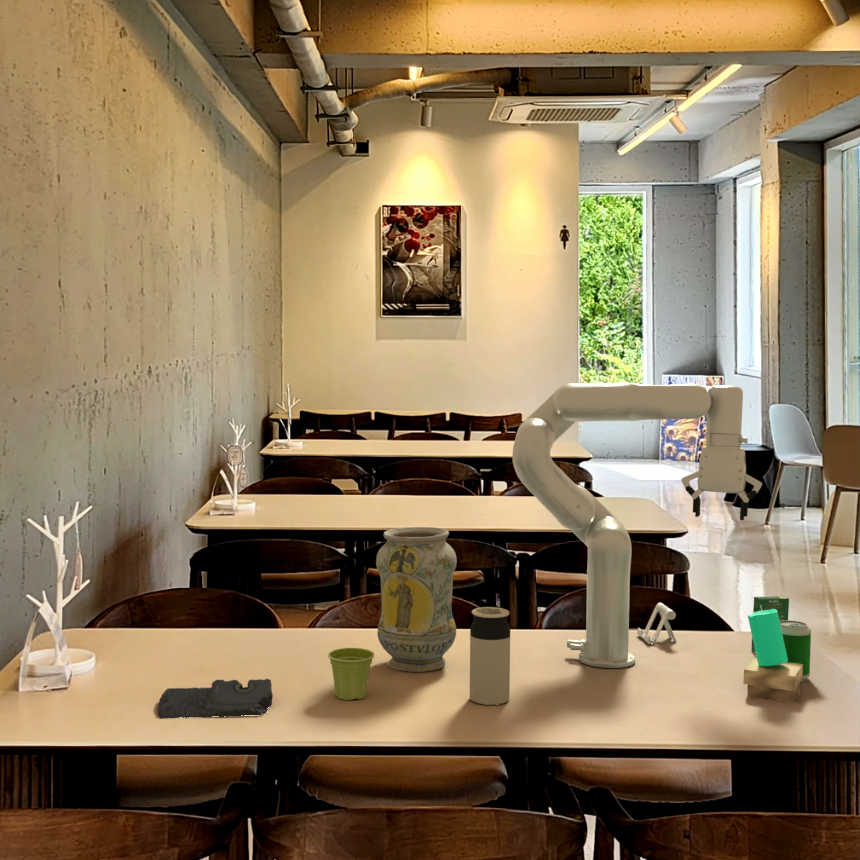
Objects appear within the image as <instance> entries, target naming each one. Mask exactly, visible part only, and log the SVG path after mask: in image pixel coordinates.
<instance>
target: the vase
mask: <svg viewBox="0 0 860 860" xmlns="http://www.w3.org/2000/svg"><path fill="white" fill-rule="evenodd" d="M449 535H450V532H449V530H448V529H445V528H441V527H433V526H432V527H431V526H410V527H408V526H407V527H399V528H398V527H397V528H391V529H387V530H386V531H384V532H383V538H384V539H385V540H386V543H384V544H383V545H382V546H381V547H380V548H379V550H378V551H377V554H376V558H375V564H376V569H377V572H378V573H379V575H380V576H379V577H380V597H381V599H380V600H381V615H380V619H379V621H378V625H377V634H376V635H377V639H378V641H379V644H380V645H381V646H382V647H381V648H382V649H383V650H384V651H385V652H386V653H387V654H388V655H389V656H391V659H390V660H389V661H388V663H387V664H388V667H390V668H391V669H393V670H395V669H397V670H396V671H400V670H401V672H406V671H408V672H407V673H426V672H425V671H428V672H432V671H437V669H438V670H441V669H442V668H444V667H445V665H446V659H444V655H445V654H446V652H447V653H448V651H449V650H450V648H451V647H452V646H453V644H454V642H455V640H456V638H457V637H456V635H457V625H456V622H455V619H454V617H453V613H452V612H453V611H452V609H453V608H452V601H453V587H454V586H453V581H454V580H453V578H454V577H453V575H454V572H455V570H456V568H457V563H458V562H457V560H458V559H457V555H456V552H455V550H454V548H452V546H451V545H450V544H449V543H447V541H446V540H447V538H448V537H449ZM440 668H441V669H440Z"/></svg>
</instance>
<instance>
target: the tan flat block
mask: <svg viewBox="0 0 860 860" xmlns="http://www.w3.org/2000/svg"><path fill="white" fill-rule="evenodd" d="M800 684H801V682H800V683H799V685H798V686H797V688H796V690H795V691H789V690H782V689H775V688H768V687H761V686H755V685H748V684H747V690H746V691H747V693H746V694H747V695H746V696H747V698H748V697H749V699H758V698H762V699H761V700H768V699H770V700H769V701H777V700H780V702H787V701H790V702H789V703H797V702H799V703H800V694H801V693H800V690H801V689H800Z"/></svg>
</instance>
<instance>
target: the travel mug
mask: <svg viewBox="0 0 860 860" xmlns="http://www.w3.org/2000/svg"><path fill="white" fill-rule="evenodd" d="M471 614H472V615H473V621H472V624H471V625H470V628H469V629H470V631H469V632H470V633H469V635H470V636H469V647H470V648H469V699H470V701H472V702H473V703H475V702H476V703H475V704H478V703H479V705H482V704H485V705H484V706H497V704H499V705H503V704H505V703H507V702H508V701H509V700H510V690H511V689H510V686H511V685H510V684H511V683H510V681H511V680H510V679H511V678H510V675H511V673H510V672H511V668H510V665H511V626H510V624H509V623H508V617H509V615H510V611H509V610H508V609H505V608H502V607H495V606H483V607H477V608H474V609H472V610H471ZM502 703H503V704H502Z"/></svg>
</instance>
